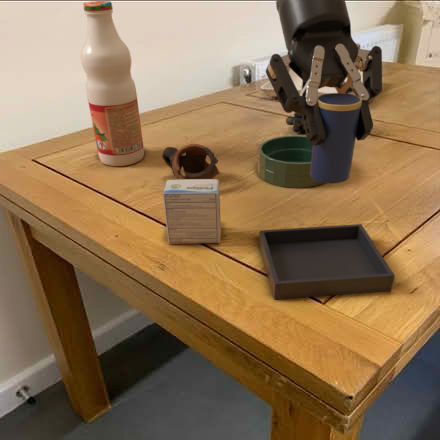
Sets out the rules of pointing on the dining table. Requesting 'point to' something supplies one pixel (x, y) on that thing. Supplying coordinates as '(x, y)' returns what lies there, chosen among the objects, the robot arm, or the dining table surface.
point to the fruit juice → (111, 89)
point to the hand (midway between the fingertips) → (342, 139)
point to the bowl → (286, 162)
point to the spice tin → (336, 137)
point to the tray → (323, 262)
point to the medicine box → (192, 211)
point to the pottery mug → (191, 161)
